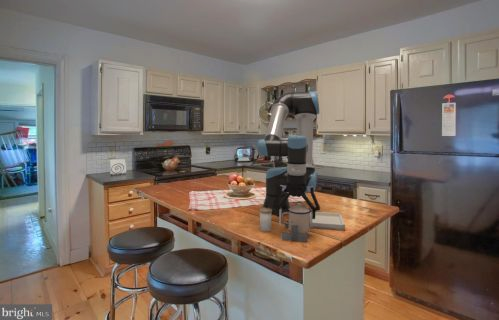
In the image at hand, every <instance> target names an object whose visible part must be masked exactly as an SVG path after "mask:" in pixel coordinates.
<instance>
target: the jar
mask: <svg viewBox="0 0 499 320" xmlns="http://www.w3.org/2000/svg"><path fill="white" fill-rule="evenodd" d="M272 215H273V214H272V209H271V208H263V207H260V208H259V230H260V231H261V232H270V230H271V231H272V218H273V217H272Z"/></svg>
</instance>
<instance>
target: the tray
mask: <svg viewBox="0 0 499 320" xmlns="http://www.w3.org/2000/svg"><path fill="white" fill-rule="evenodd" d="M310 216H311V212H310ZM315 228H316V230H317V229H318V230H332V231H342V232H344V231H345V230H346V223H345V222H344V218H343V216H342V213H341V212H326V211H316V212H315V219H312V228H311V227H310V229H315Z"/></svg>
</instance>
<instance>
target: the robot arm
mask: <svg viewBox="0 0 499 320" xmlns="http://www.w3.org/2000/svg"><path fill="white" fill-rule="evenodd" d="M319 104H320V103H319V95H318V93H317V92H316V91H299V92H298V91H297V92H295V91H294V92H292V91H291V92H286V93H284V94H281V95H280V96H278V98H276V99H275V100H274V101H273V103H272V105H271V107H270V113H271V115H270V118H269V122H268V126H267V129H266V132H265V135H264V138H263V139H258V141H257V144H256V152H257V154H258V155H259V156H261V157H262V156H263V157H287V161H286V162H287V164H286V165H287V166H285V167H284V166H281V167H280V166H279V167H273V168H270V169H267V171H266V174H265V198H264V201H263V204H262V208H271V209H272V215H276V217H277V218H278V225H279V226H282V224H283V221H282V218H281V215H282V213H283V212H289V211H288V209H289V207H291V204H290V201H289V198H290V197H298V198H300V197H302V199H303V200H304V201H305V202H306V204H307V205H308V208H310V210H311V216H310V227H311V228H310V229H313V228H312V219H315V212H319V211H320V210H321V207H320V204H319V201H318V199H317V197H316V194H315V189H316V187H317V186H316V184H317V180H318V171H317V170H316V168H315V166H314V165H313V150H314V149H313V145H314V141H313V140H314V120H315V119H316V118H317V115H319V114H320V105H319ZM288 115H294V118H295V119H296V135H290V136H288V137H287V139H282V138H283V137H282V135H283V132H284V128H285V127H284V126H285V123H286V119H287V117H288ZM307 194H310V195H311V198H312V200H313V203H314V204H313V203H312V202H311V200H310V199H309V198H308V195H307Z"/></svg>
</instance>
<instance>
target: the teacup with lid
mask: <svg viewBox="0 0 499 320" xmlns="http://www.w3.org/2000/svg"><path fill="white" fill-rule="evenodd" d="M311 210H312V209H311V208H310V207H309V206H306V205H304V204H303V203H302V202H301V201H299V202H297V203H296V204H294V205H290V207H289V209H288V211H289V212H283V213H282V215H281V218H282V223H284V224H285V223H286V224H289V228H288V230H289V231H290V232H291V225H296V226H298V233H303V234H308V233H309V232H310V229H311V228H310V212H311ZM284 215H288V220H285V218H284ZM287 221H289V222H287Z"/></svg>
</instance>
